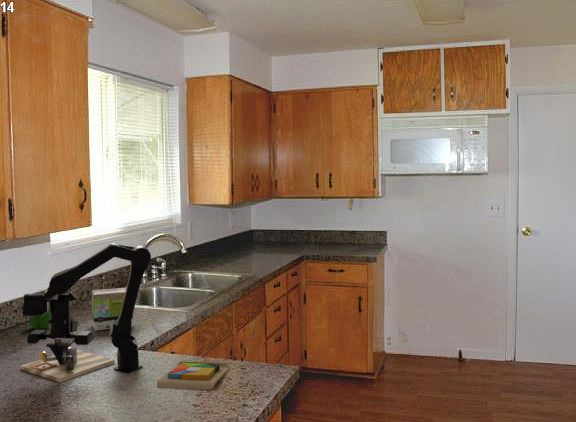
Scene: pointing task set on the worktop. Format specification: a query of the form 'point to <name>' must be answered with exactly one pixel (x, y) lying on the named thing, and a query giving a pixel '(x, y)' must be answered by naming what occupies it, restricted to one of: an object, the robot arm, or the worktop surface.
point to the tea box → (107, 307)
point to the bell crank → (68, 360)
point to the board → (82, 366)
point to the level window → (43, 366)
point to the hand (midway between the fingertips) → (61, 364)
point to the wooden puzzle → (194, 375)
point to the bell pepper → (40, 321)
